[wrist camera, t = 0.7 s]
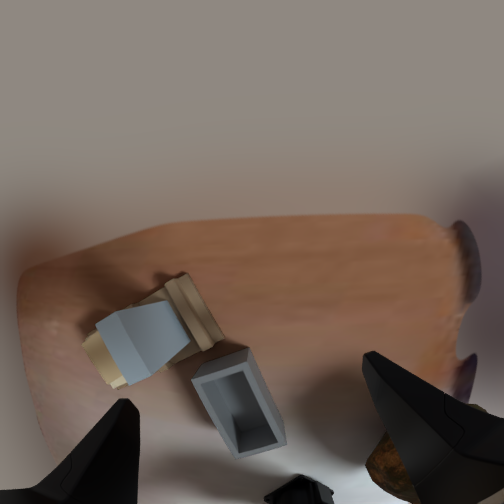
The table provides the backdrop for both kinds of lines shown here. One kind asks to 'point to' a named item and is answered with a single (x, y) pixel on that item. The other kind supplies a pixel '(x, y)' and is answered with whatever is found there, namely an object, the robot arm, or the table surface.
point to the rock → (393, 469)
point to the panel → (142, 339)
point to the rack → (189, 315)
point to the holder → (240, 404)
